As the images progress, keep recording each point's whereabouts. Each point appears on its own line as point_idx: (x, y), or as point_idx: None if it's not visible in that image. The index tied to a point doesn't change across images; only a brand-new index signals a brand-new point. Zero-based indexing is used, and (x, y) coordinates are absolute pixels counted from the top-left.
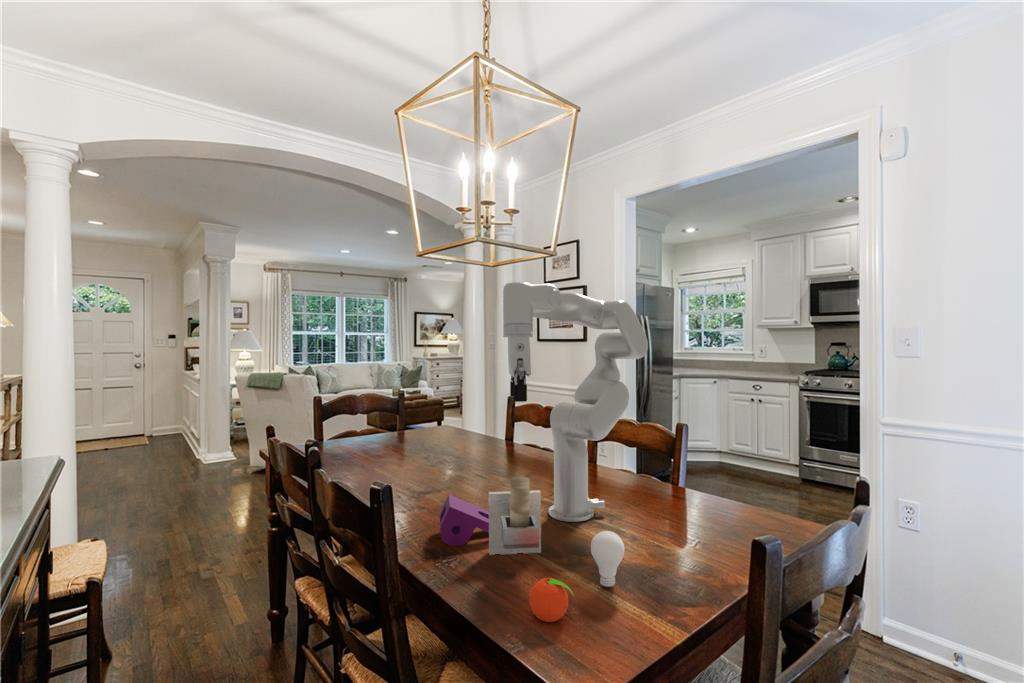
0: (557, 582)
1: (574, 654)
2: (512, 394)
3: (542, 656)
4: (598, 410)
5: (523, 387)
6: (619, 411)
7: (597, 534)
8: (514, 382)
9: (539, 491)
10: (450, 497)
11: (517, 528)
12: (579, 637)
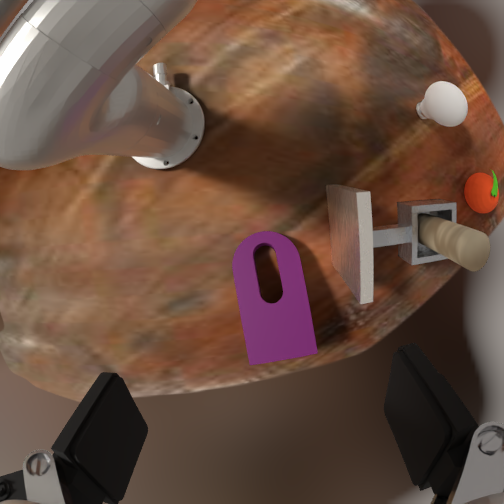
0: (495, 186)
1: (500, 177)
2: (142, 432)
3: (501, 202)
4: None
5: (474, 423)
6: None
7: (456, 114)
8: (107, 488)
9: (363, 193)
10: (264, 360)
11: None
12: (487, 167)
